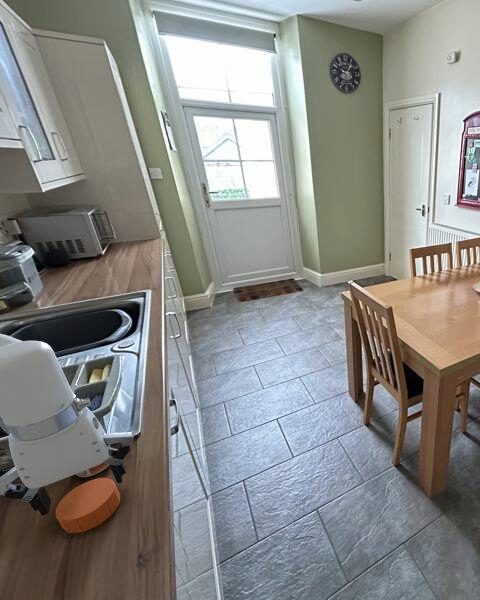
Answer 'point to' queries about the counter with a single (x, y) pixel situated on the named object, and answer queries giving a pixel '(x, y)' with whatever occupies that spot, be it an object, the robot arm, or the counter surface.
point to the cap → (88, 505)
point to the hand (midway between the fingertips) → (85, 492)
